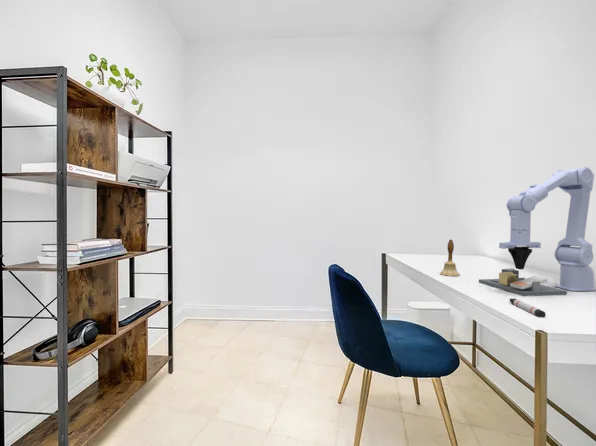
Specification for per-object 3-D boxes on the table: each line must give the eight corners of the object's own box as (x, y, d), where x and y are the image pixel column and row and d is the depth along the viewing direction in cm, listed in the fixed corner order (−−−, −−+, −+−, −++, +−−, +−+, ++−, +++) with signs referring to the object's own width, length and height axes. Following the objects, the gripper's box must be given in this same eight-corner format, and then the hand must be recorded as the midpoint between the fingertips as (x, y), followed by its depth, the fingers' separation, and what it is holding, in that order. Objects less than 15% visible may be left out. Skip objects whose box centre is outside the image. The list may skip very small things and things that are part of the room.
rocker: (534, 278, 117) (534, 275, 116) (547, 281, 111) (547, 278, 111) (510, 286, 115) (509, 282, 115) (522, 289, 110) (521, 286, 110)
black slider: (510, 278, 130) (510, 267, 130) (518, 280, 126) (518, 269, 126) (501, 279, 130) (501, 267, 129) (509, 281, 126) (509, 269, 126)
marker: (545, 318, 87) (545, 310, 87) (537, 318, 87) (538, 310, 87) (512, 302, 102) (513, 296, 102) (506, 302, 102) (506, 296, 102)
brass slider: (508, 283, 122) (508, 270, 122) (517, 285, 118) (517, 272, 118) (498, 283, 122) (499, 271, 122) (507, 285, 118) (507, 273, 118)
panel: (515, 281, 133) (515, 270, 133) (566, 294, 111) (567, 281, 111) (478, 282, 130) (478, 271, 130) (523, 296, 109) (524, 282, 109)
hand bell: (448, 272, 153) (449, 238, 152) (464, 275, 145) (464, 240, 145) (435, 273, 149) (436, 239, 149) (451, 277, 142) (451, 240, 141)
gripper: (529, 229, 118) (528, 266, 118) (492, 229, 116) (492, 267, 116) (546, 230, 111) (545, 269, 111) (508, 230, 109) (507, 270, 109)
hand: (519, 268), depth 113 cm, fingers closed
